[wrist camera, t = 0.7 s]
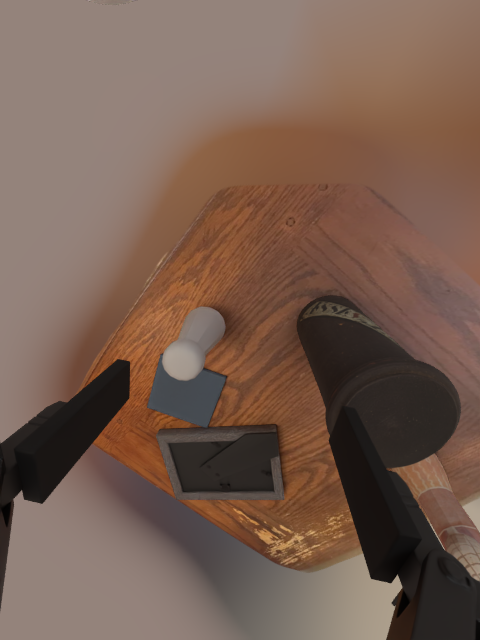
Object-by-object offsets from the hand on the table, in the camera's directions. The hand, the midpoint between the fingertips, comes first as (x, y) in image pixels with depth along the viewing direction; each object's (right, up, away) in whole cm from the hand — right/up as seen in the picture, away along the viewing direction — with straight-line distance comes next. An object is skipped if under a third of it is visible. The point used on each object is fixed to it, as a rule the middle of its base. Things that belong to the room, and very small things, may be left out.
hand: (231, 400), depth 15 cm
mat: (-9, -7, +26) cm, 28 cm away
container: (+13, +4, +20) cm, 24 cm away
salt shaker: (-4, +5, +21) cm, 22 cm away
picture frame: (-3, -21, +31) cm, 37 cm away
